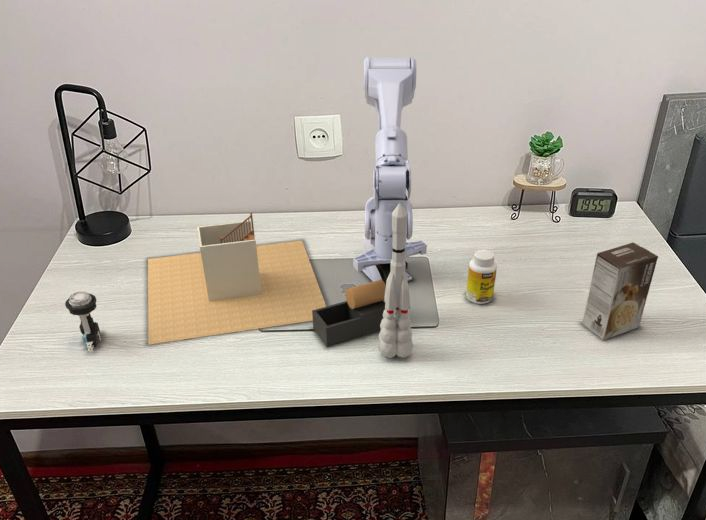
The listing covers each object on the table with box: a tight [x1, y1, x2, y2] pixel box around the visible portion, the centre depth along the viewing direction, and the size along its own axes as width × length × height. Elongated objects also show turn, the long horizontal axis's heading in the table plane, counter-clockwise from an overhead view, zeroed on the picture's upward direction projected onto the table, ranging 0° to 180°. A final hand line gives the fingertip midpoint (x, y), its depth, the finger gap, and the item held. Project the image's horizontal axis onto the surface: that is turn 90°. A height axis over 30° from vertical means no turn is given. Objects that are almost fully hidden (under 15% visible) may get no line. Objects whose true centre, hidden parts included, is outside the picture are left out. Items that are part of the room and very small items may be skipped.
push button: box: [64, 291, 102, 352], centre depth 128 cm, size 7×5×10 cm
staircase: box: [196, 211, 263, 302], centre depth 142 cm, size 9×11×17 cm
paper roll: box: [345, 280, 386, 309], centre depth 132 cm, size 4×7×4 cm, turn 117°
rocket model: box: [378, 203, 414, 359], centre depth 120 cm, size 7×7×30 cm
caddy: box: [312, 299, 385, 348], centre depth 134 cm, size 7×13×5 cm, turn 117°
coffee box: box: [581, 242, 659, 341], centre depth 131 cm, size 9×6×16 cm
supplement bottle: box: [465, 249, 498, 305], centre depth 141 cm, size 6×6×10 cm
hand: (389, 293), depth 134 cm, fingers closed
